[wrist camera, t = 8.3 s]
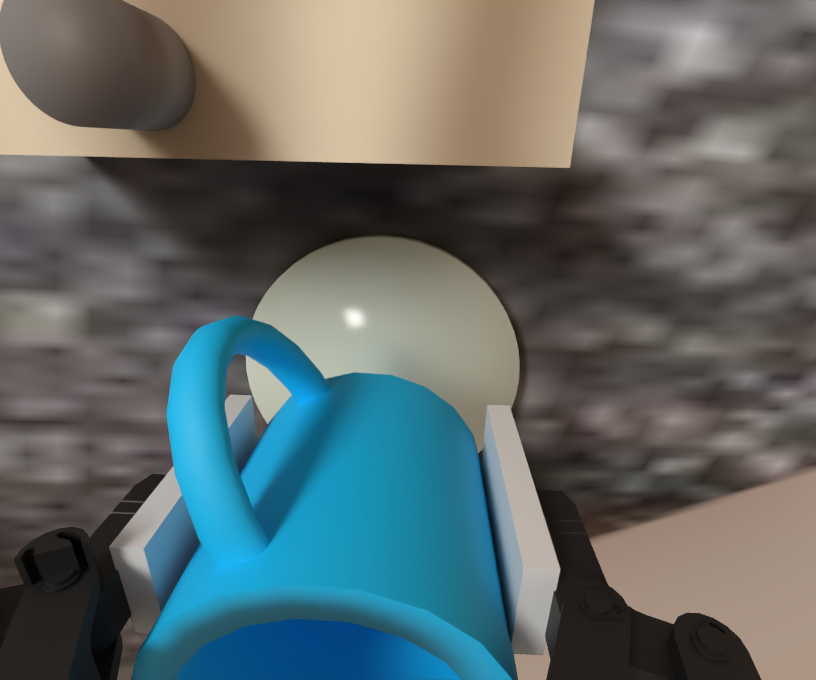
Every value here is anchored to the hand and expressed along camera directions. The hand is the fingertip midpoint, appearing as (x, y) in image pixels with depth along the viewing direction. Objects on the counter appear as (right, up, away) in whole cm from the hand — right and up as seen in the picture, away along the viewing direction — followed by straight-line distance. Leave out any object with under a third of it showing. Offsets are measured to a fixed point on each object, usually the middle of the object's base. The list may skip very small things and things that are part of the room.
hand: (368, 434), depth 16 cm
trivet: (0, +2, +5) cm, 5 cm away
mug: (-1, 0, +1) cm, 1 cm away
